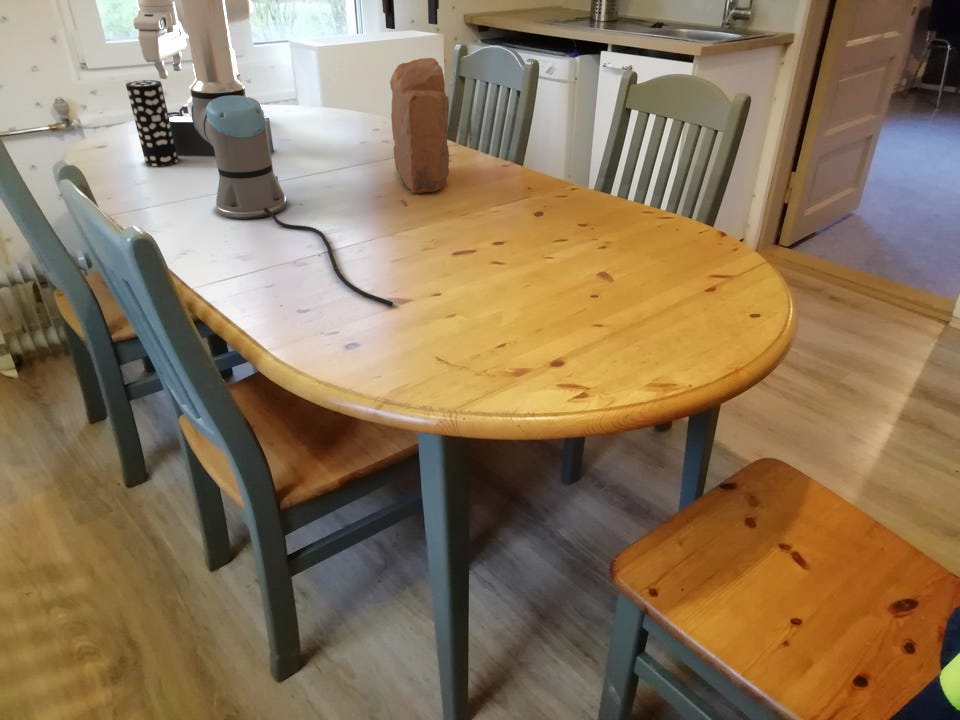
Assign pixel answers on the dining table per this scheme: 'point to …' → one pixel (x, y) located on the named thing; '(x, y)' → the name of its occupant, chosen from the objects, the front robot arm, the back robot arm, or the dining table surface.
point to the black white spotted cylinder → (152, 122)
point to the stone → (420, 124)
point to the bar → (197, 138)
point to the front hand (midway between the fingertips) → (412, 26)
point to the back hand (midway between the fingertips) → (171, 74)
